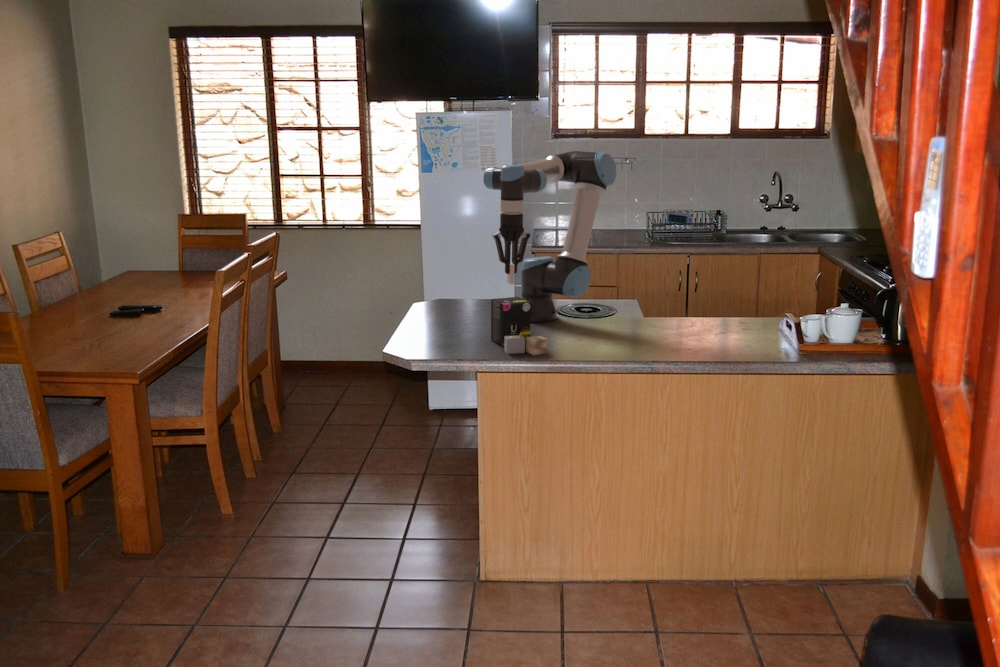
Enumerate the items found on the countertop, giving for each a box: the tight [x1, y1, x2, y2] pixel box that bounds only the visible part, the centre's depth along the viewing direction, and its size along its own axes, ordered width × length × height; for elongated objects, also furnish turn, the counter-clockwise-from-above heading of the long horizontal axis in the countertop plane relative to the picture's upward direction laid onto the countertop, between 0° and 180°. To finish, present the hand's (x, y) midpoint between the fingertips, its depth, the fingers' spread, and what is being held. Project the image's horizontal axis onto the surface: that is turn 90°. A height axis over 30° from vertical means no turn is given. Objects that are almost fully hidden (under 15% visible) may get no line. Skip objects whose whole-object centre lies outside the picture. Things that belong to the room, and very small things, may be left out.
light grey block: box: [503, 335, 526, 355], centre depth 293 cm, size 6×4×5 cm, turn 101°
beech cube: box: [525, 335, 548, 356], centre depth 292 cm, size 5×5×5 cm
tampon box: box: [490, 296, 531, 347], centre depth 304 cm, size 11×9×15 cm
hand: (510, 283), depth 300 cm, fingers closed
